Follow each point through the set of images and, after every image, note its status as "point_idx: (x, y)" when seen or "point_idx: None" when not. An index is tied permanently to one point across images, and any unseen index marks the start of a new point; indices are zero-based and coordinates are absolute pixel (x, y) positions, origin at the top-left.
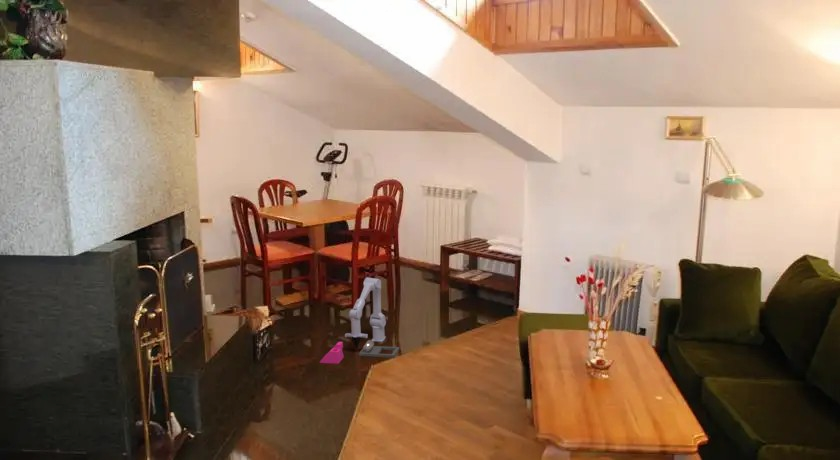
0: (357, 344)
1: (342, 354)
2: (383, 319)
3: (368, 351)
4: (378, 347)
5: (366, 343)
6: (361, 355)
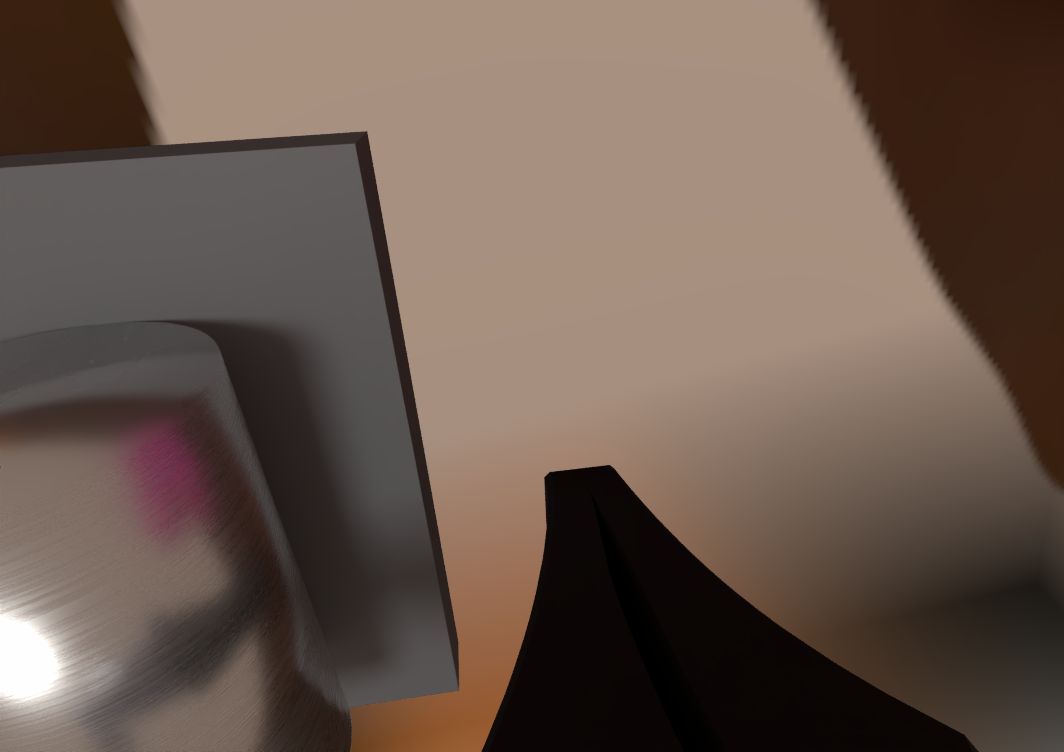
0: (552, 576)
1: None
2: None
3: (4, 349)
4: None
5: (60, 703)
6: (258, 142)
